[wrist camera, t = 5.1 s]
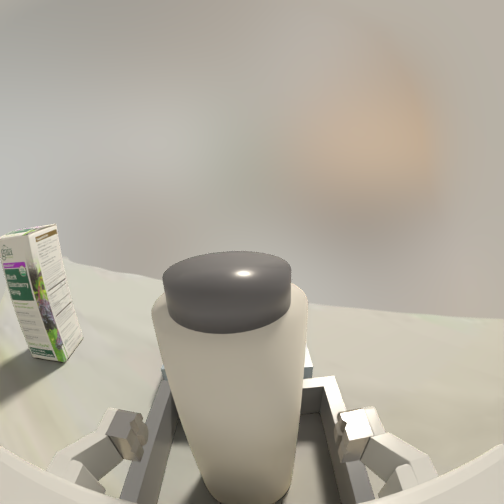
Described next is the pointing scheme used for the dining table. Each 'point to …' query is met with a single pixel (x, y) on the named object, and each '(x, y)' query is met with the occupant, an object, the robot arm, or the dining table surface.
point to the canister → (235, 368)
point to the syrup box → (40, 291)
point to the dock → (313, 400)
